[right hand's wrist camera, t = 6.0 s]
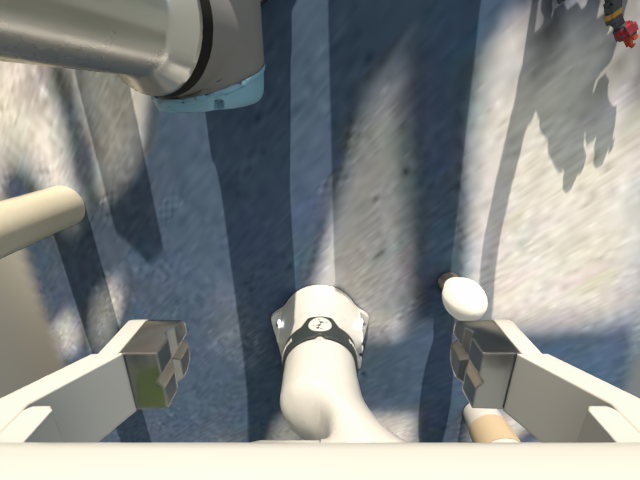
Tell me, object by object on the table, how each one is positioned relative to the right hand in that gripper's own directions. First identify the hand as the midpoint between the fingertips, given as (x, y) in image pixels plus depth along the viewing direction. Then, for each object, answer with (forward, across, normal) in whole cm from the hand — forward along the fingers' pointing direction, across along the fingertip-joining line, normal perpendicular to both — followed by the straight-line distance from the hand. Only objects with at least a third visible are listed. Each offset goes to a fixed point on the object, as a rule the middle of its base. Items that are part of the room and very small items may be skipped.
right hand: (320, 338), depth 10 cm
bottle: (+48, -44, -8) cm, 66 cm away
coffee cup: (+48, +35, -55) cm, 81 cm away
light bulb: (+48, +24, -23) cm, 58 cm away
